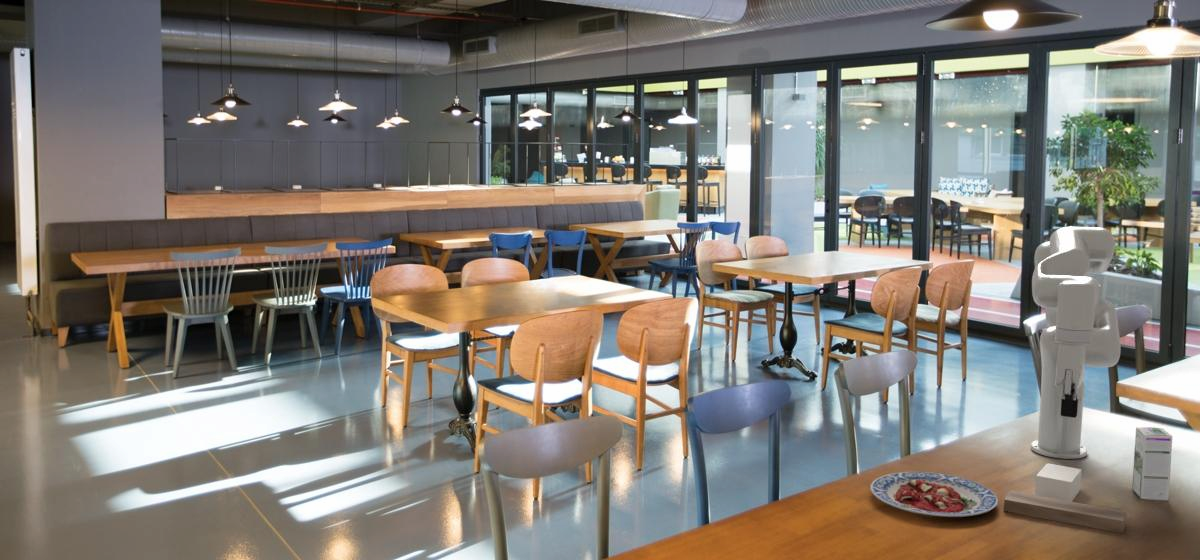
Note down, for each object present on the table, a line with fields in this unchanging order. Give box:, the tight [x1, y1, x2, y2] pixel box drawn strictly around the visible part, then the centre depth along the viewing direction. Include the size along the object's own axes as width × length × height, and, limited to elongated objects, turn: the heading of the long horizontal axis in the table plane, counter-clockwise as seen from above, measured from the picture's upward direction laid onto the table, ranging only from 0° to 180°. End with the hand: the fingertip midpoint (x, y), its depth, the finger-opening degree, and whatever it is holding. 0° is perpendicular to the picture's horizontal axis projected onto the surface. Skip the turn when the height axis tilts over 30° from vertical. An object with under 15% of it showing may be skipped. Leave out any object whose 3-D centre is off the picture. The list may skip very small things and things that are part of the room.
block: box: [1034, 462, 1082, 502], centre depth 210 cm, size 10×7×5 cm
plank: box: [1003, 490, 1128, 534], centre depth 197 cm, size 6×22×2 cm, turn 57°
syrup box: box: [1132, 426, 1173, 501], centre depth 207 cm, size 6×6×14 cm
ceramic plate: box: [870, 471, 999, 518], centre depth 206 cm, size 26×26×3 cm
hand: (1068, 415), depth 216 cm, fingers closed
